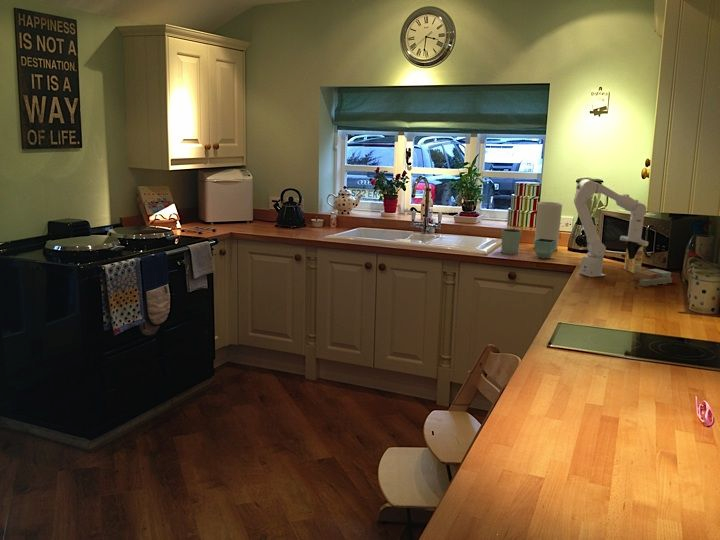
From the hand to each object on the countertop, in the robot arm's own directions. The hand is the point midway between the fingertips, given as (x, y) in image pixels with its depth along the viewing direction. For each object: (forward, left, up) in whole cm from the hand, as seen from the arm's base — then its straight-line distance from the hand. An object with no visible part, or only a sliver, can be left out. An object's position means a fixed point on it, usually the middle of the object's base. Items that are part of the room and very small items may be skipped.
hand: (631, 258), depth 319 cm
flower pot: (-10, +46, -9) cm, 48 cm away
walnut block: (0, -10, -9) cm, 13 cm away
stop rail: (0, -15, -9) cm, 17 cm away
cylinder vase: (+7, +64, -9) cm, 65 cm away
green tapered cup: (-20, +61, -9) cm, 65 cm away
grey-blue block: (+8, -9, -9) cm, 15 cm away
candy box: (+11, +8, -9) cm, 16 cm away
